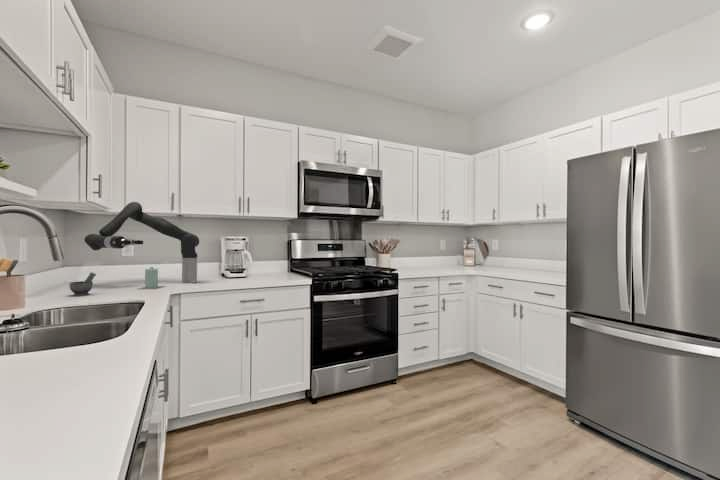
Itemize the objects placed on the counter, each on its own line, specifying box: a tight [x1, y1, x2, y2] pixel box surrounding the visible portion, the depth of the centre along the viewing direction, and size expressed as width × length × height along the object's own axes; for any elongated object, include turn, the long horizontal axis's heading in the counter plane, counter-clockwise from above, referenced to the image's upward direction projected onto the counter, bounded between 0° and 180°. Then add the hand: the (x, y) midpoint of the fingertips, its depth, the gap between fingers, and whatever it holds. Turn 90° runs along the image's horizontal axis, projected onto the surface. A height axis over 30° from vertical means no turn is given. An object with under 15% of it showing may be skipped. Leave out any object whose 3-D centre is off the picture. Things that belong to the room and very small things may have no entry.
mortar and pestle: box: [69, 272, 97, 297], centre depth 183 cm, size 11×9×12 cm
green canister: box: [144, 266, 159, 288], centre depth 206 cm, size 6×6×12 cm
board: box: [138, 285, 167, 290], centre depth 206 cm, size 13×11×1 cm
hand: (136, 242), depth 208 cm, fingers open, 8 cm apart
